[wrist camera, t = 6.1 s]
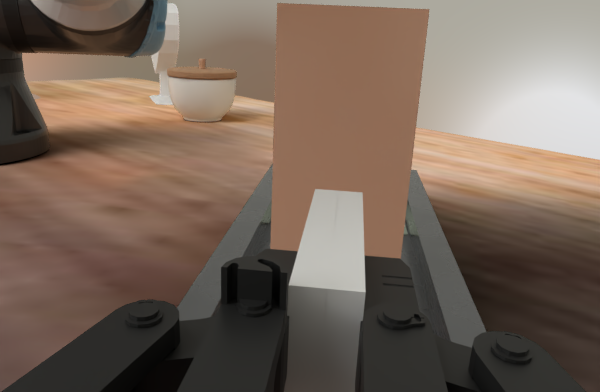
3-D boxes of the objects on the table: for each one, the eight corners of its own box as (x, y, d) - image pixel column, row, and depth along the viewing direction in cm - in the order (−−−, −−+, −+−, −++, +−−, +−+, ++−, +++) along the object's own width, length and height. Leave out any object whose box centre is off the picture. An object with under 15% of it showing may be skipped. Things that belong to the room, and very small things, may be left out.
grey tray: (485, 406, 20) (495, 353, 20) (170, 372, 21) (168, 321, 21) (413, 196, 47) (416, 170, 46) (273, 186, 48) (274, 160, 47)
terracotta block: (393, 322, 24) (429, 9, 20) (268, 310, 25) (277, 3, 20) (386, 268, 30) (413, 15, 26) (285, 259, 30) (294, 10, 26)
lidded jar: (205, 111, 89) (204, 56, 86) (250, 120, 83) (251, 60, 80) (154, 117, 81) (151, 56, 78) (200, 127, 75) (199, 61, 72)
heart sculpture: (185, 105, 95) (182, 2, 90) (157, 105, 93) (153, 0, 88) (171, 94, 109) (168, 5, 103) (147, 95, 107) (143, 3, 101)
